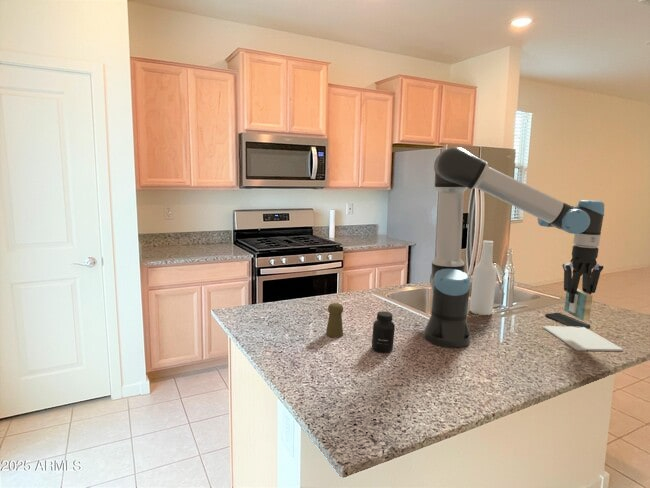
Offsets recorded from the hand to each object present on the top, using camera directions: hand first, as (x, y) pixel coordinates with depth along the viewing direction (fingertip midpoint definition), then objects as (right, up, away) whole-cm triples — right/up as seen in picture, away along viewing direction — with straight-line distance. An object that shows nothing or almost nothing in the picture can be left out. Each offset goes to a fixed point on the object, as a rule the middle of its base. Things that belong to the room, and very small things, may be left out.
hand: (576, 311), depth 145 cm
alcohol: (-24, -5, +26) cm, 36 cm away
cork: (-85, -8, -2) cm, 85 cm away
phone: (+8, -8, +19) cm, 22 cm away
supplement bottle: (-70, -10, -13) cm, 72 cm away
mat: (+2, -10, +2) cm, 10 cm away
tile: (0, -1, 0) cm, 1 cm away
